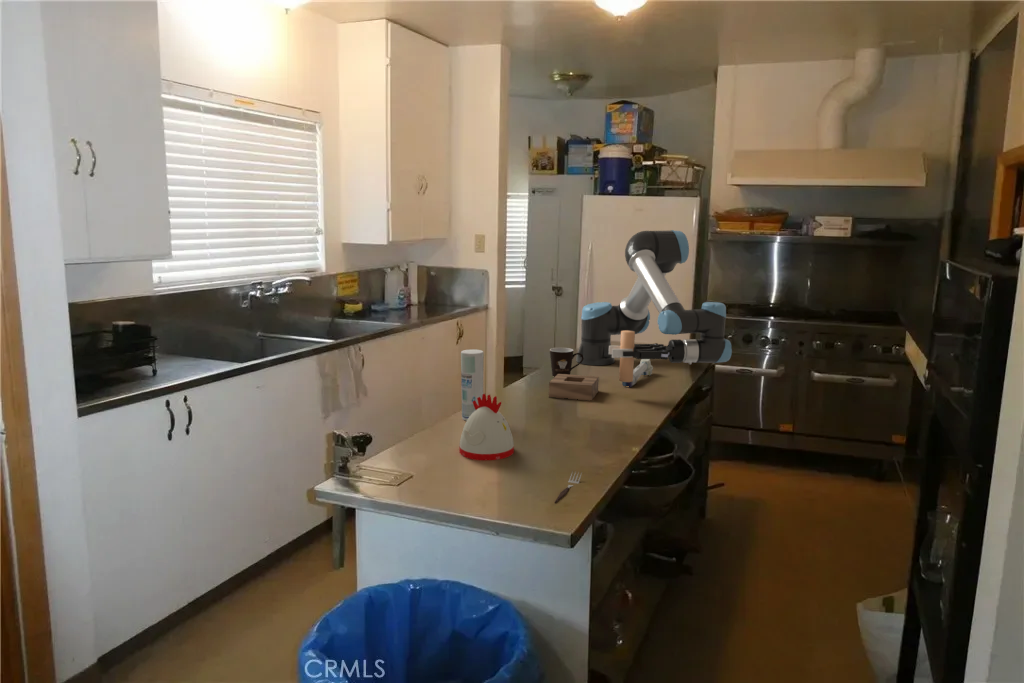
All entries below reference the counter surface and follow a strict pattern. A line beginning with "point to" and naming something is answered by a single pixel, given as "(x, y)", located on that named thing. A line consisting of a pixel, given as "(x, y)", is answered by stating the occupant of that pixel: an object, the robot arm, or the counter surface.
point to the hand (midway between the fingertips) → (610, 351)
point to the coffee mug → (562, 360)
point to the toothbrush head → (640, 371)
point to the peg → (626, 363)
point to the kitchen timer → (486, 432)
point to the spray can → (471, 380)
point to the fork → (568, 486)
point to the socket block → (573, 386)
